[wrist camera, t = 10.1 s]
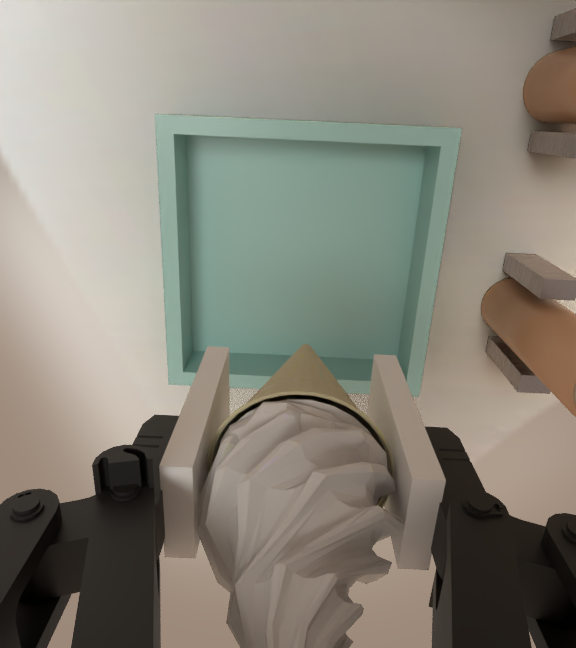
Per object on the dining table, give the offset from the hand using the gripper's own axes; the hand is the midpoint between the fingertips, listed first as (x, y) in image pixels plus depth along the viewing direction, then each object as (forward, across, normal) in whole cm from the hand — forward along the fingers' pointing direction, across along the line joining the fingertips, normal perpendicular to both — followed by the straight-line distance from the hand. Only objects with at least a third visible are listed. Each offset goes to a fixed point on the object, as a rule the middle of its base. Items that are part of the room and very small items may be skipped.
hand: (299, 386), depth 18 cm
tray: (+19, 0, 0) cm, 19 cm away
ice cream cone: (+4, 0, 0) cm, 4 cm away
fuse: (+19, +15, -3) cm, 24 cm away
